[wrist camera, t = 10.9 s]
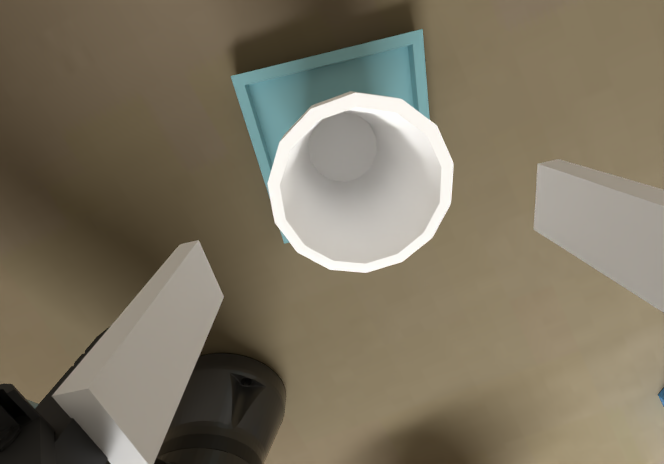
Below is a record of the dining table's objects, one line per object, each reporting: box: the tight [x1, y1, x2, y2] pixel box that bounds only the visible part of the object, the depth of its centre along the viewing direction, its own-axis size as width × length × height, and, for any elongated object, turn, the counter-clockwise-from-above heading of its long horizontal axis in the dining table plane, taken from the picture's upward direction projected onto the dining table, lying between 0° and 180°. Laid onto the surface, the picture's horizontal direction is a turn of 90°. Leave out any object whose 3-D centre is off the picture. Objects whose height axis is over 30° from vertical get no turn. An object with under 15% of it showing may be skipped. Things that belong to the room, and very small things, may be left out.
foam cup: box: [267, 91, 454, 273], centre depth 22 cm, size 10×9×13 cm
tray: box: [231, 29, 430, 243], centre depth 27 cm, size 15×15×2 cm
